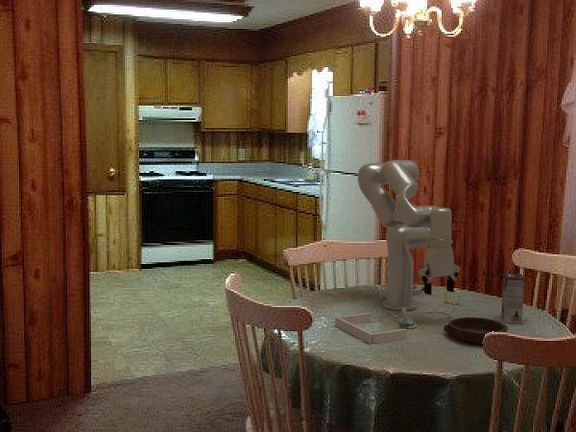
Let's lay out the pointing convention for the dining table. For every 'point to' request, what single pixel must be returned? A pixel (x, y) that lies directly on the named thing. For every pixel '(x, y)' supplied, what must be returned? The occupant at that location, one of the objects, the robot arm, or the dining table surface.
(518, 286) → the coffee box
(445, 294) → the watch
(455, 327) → the dish
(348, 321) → the box
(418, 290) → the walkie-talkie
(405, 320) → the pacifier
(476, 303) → the dining table surface
